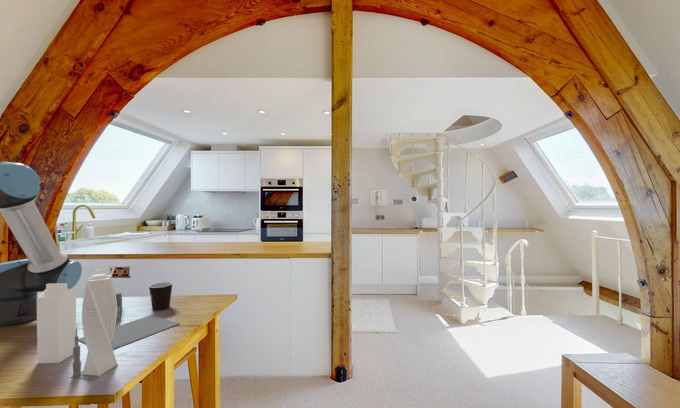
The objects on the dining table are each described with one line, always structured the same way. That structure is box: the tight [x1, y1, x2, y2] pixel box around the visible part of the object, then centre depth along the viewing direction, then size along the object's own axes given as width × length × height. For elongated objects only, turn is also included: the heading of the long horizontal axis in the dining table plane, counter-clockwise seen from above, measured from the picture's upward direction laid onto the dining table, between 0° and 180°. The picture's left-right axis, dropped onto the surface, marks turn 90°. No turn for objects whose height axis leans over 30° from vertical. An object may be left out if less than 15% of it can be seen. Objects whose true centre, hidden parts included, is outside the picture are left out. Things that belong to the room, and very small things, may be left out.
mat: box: [78, 314, 180, 350], centre depth 104 cm, size 18×24×1 cm
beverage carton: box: [115, 293, 123, 322], centre depth 120 cm, size 8×19×7 cm, turn 35°
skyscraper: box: [70, 265, 118, 381], centre depth 80 cm, size 8×8×28 cm
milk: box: [36, 283, 77, 364], centre depth 87 cm, size 6×6×22 cm
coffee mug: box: [148, 281, 173, 312], centre depth 129 cm, size 12×9×10 cm
